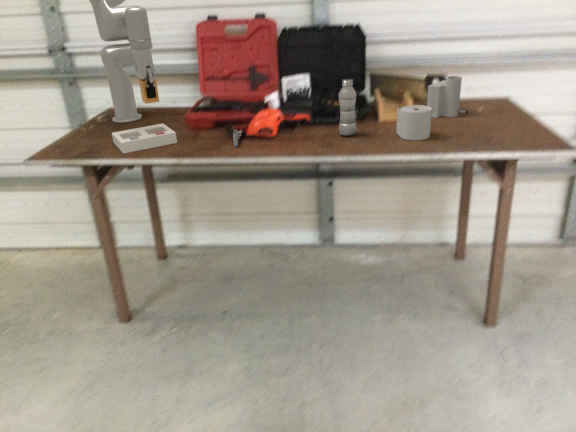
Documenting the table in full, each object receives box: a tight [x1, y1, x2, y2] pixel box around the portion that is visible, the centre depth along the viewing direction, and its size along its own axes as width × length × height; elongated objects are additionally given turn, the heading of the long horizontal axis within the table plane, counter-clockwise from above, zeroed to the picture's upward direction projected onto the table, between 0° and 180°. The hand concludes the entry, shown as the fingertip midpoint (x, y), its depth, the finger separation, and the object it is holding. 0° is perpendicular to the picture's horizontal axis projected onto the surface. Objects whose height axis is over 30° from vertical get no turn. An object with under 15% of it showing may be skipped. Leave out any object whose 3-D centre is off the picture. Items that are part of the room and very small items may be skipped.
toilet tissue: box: [395, 104, 432, 141], centre depth 181 cm, size 11×12×10 cm
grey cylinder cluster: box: [426, 75, 469, 119], centre depth 202 cm, size 12×14×15 cm
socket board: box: [111, 122, 178, 154], centre depth 193 cm, size 16×20×5 cm
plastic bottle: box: [338, 78, 357, 136], centre depth 184 cm, size 6×7×20 cm
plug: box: [138, 78, 160, 105], centre depth 187 cm, size 5×5×8 cm
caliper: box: [232, 129, 242, 148], centre depth 190 cm, size 20×1×6 cm, turn 175°
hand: (149, 96), depth 188 cm, fingers closed on plug, 4 cm apart
